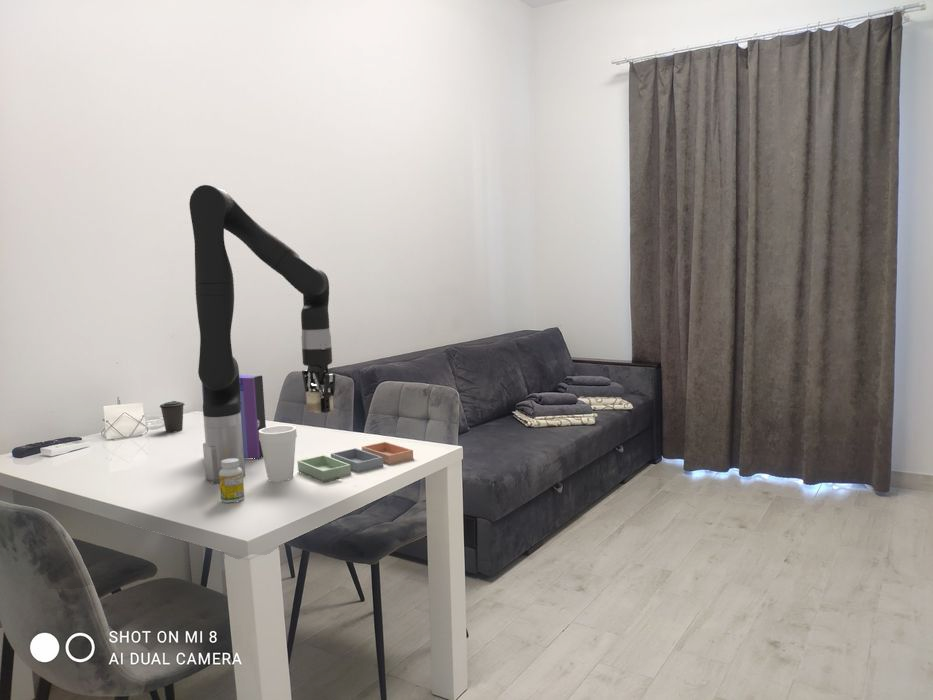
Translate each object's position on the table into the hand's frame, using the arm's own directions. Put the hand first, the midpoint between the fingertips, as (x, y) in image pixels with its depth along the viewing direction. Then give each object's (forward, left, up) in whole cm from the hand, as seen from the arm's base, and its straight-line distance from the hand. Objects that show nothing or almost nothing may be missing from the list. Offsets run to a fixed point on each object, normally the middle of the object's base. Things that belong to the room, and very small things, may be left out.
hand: (320, 410), depth 184 cm
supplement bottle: (-26, -3, -17) cm, 31 cm away
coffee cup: (-11, +87, -17) cm, 89 cm away
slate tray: (+10, 0, -17) cm, 20 cm away
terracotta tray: (+20, 0, -17) cm, 26 cm away
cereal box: (-9, +36, -17) cm, 41 cm away
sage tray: (0, 0, -17) cm, 17 cm away
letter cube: (0, 0, 0) cm, 0 cm away
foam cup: (-10, +5, -17) cm, 21 cm away
